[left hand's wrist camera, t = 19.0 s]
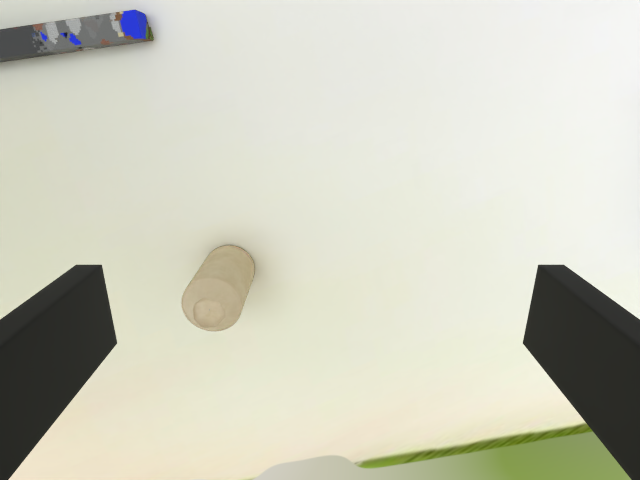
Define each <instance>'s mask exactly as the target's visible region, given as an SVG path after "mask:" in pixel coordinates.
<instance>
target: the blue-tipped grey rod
mask: <svg viewBox="0 0 640 480" xmlns="http://www.w3.org/2000/svg"><path fill="white" fill-rule="evenodd" d="M151 40H153V36H152V32H151V28H150V27H148V23H147V20H146V16H145V14H144V13H141V12H139V11H137V10H130V11H123V12H116V13H109V14H103V15H96V16H89V17H82V18H75V19H69V20H62V21H55V22H48V23H41V24H35V25H28V26H21V27H14V28H7V29H1V30H0V62H4V61H11V60H18V59H25V58H32V57H39V56H46V55H53V54H60V53H67V52H74V51H81V50H88V49H95V48H102V47H109V46H116V45H123V44H130V43H137V42H144V41H151Z"/></svg>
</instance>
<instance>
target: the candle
mask: <svg viewBox="0 0 640 480" xmlns="http://www.w3.org/2000/svg"><path fill="white" fill-rule="evenodd" d="M254 272H255V269H254V263H253V260H252V258H251V257H250V255H249V254H248V253H247V252H246V251H244V250H243V249H241V248H239V247H236V246H231V245H227V246H221V247H218V248H216V249H215V250H213V251H212V252H211V253H210V254H209V255H208V257H207V258H206V260H205V261H204V263H203V264H202V266H201V267H200V269H199V270H198V271H197V273H196V274H195V276H194V277H193V279H192V280H191V282H190V283H189V285H188V286H187V288H186V289H185V291H184V293H183V296H182V309H183V312H184V314H185V316H186V317H187V319H188V320H189V321H190V322H191V323H192V324H194V325H195V326H197V327H199V328H201V329H204V330H207V331H221V330H225V329H227V328H229V327H231V326H232V325H233V324H235V323H236V321H237V320H238V318H239V317H240V314H241V311H242V309H243V306H244V303H245V300H246V297H247V294H248V292H249V289H250V286H251V283H252V280H253V277H254Z"/></svg>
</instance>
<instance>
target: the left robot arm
mask: <svg viewBox="0 0 640 480" xmlns="http://www.w3.org/2000/svg"><path fill="white" fill-rule="evenodd" d="M116 344H117V340H116V335H115V330H114V325H113V320H112V315H111V310H110V305H109V300H108V294H107V289H106V284H105V279H104V274H103V269H102V265H75V266H74V267H73V268H71V269H70V270H68V271H67V272H66V273H64V274H63V275H61V276H60V277H59V278H57V279H56V280H55V281H53V282H52V283H50V284H49V285H48V286H46V287H45V288H43V289H42V290H41V291H39V292H38V293H37V294H35V295H34V296H32V297H31V298H30V299H28V300H27V301H25V302H24V303H23V304H21V305H20V306H19V307H17V308H16V309H14V310H13V311H12V312H10V313H9V314H8V315H6V316H5V317H3V318H2V319H1V320H0V480H8V479H9V478H10V477H11V476H12V474H13V473H14V472H15V471H16V469H17V468H18V467H19V466H20V464H21V463H22V462H23V461H24V459H25V458H26V457H27V456H28V454H29V453H30V452H31V451H32V449H33V448H34V447H35V446H36V444H37V443H38V442H39V441H40V439H41V438H42V437H43V435H44V434H45V433H46V432H47V430H48V429H49V428H50V427H51V425H52V424H53V423H54V422H55V420H56V419H57V418H58V417H59V415H60V414H61V413H62V412H63V410H64V409H65V408H66V407H67V405H68V404H69V403H70V402H71V400H72V399H73V398H74V397H75V395H76V394H77V393H78V392H79V390H80V389H81V388H82V387H83V385H84V384H85V383H86V382H87V380H88V379H89V378H90V377H91V375H92V374H93V373H94V372H95V370H96V369H97V368H98V367H99V365H100V364H101V363H102V361H103V360H104V359H105V358H106V356H107V355H108V354H109V353H110V351H111V350H112V349H113V348H114V346H115V345H116ZM523 344H524V345H525V346H526V348H527V349H528V350H529V351H530V353H531V354H532V355H533V356H534V358H535V359H536V360H537V361H538V363H539V364H540V365H541V367H542V368H543V369H544V370H545V372H546V373H547V374H548V375H549V377H550V378H551V379H552V380H553V382H554V383H555V384H556V385H557V387H558V388H559V389H560V390H561V392H562V393H563V394H564V395H565V397H566V398H567V399H568V400H569V402H570V403H571V404H572V405H573V407H574V408H575V409H576V410H577V412H578V413H579V414H580V415H581V417H582V418H583V419H584V420H585V422H586V423H587V424H588V425H589V427H590V428H591V429H592V430H593V432H594V433H595V434H596V435H597V437H598V438H599V439H600V440H601V442H602V443H603V444H604V445H605V447H606V448H607V449H608V451H609V452H610V453H611V454H612V456H613V457H614V458H615V459H616V460H617V462H618V463H619V464H620V466H621V467H622V468H623V469H624V471H625V472H626V473H627V474H628V476H629V477H630V478H631V479H632V480H640V320H639V319H638V318H637V317H635V316H634V315H632V314H631V313H630V312H628V311H627V310H626V309H624V308H623V307H621V306H620V305H619V304H617V303H616V302H615V301H613V300H612V299H610V298H609V297H608V296H606V295H605V294H603V293H602V292H601V291H599V290H598V289H597V288H595V287H594V286H592V285H591V284H590V283H588V282H587V281H585V280H584V279H583V278H581V277H580V276H579V275H577V274H576V273H574V272H573V271H572V270H570V269H569V268H567V267H566V266H565V265H538V269H537V274H536V279H535V284H534V289H533V294H532V300H531V305H530V310H529V315H528V320H527V325H526V330H525V335H524V340H523Z"/></svg>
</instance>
